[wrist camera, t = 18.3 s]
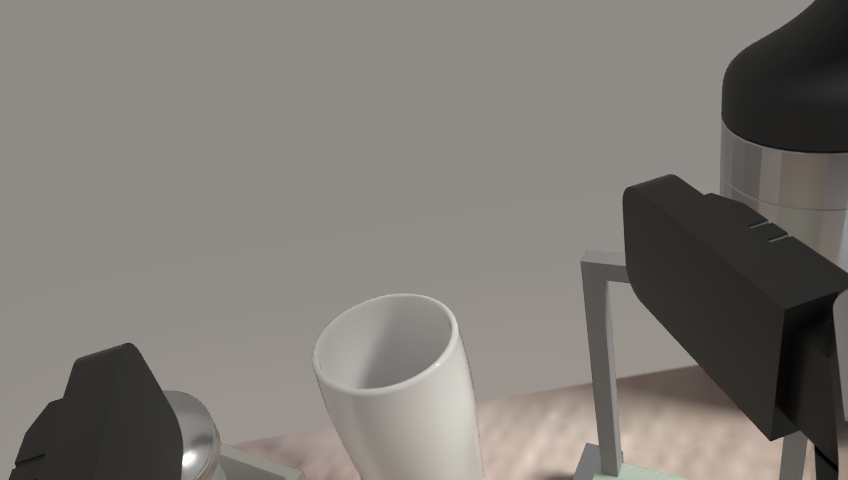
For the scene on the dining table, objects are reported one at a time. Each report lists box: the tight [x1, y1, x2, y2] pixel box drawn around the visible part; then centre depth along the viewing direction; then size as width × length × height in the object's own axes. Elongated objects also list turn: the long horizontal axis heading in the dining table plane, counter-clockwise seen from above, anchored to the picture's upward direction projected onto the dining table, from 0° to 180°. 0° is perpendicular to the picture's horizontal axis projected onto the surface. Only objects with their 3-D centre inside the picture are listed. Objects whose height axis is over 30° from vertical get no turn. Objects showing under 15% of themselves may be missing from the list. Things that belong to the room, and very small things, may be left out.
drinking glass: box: [312, 293, 485, 480], centre depth 33 cm, size 7×7×15 cm
